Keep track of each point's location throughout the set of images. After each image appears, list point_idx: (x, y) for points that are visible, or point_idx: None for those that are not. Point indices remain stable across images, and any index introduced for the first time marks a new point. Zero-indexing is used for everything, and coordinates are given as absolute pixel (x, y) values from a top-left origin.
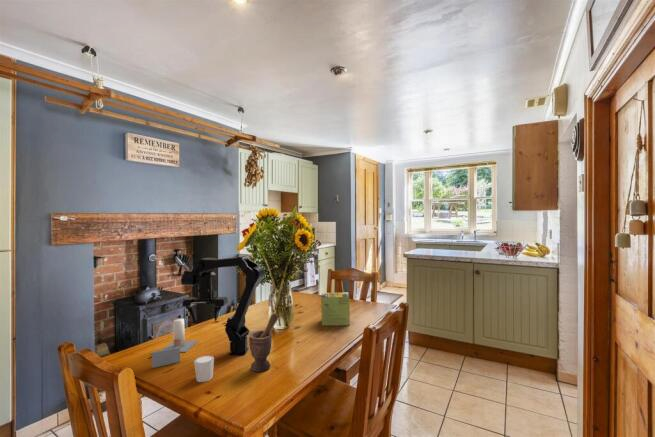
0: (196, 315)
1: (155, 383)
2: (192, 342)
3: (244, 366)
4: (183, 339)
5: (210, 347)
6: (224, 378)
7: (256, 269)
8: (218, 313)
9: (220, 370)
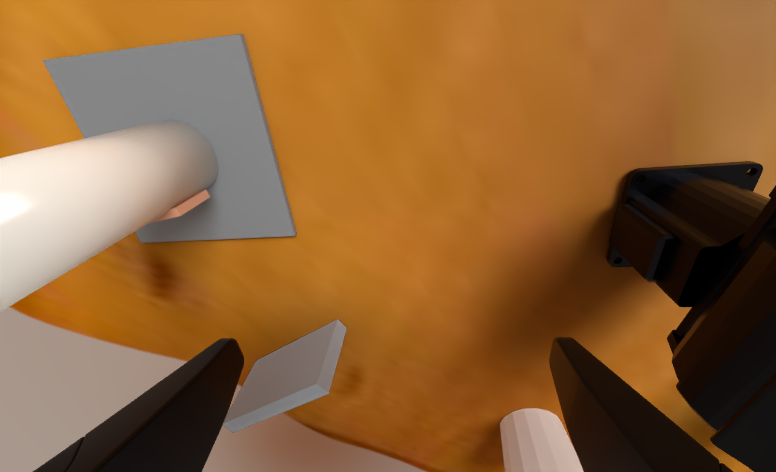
0: (182, 400)
1: (367, 441)
2: (221, 78)
3: None
4: (185, 179)
5: (418, 147)
6: None
7: None
8: (693, 466)
9: None
